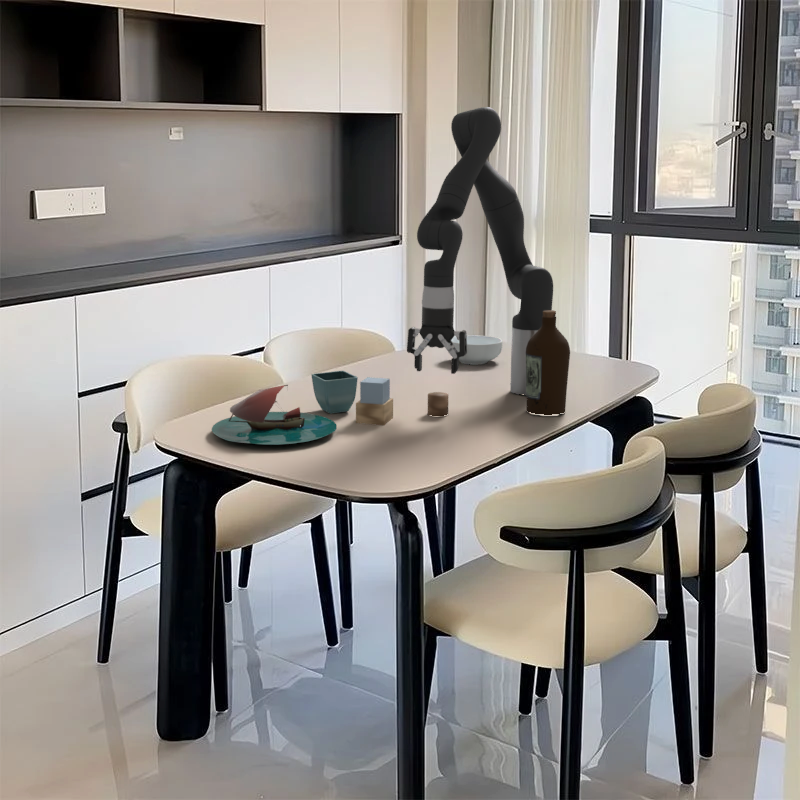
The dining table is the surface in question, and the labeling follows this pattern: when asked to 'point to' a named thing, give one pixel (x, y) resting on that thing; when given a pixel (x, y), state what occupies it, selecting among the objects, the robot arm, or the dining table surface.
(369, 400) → the mid block
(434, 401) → the brown rounded cylinder
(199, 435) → the dining table surface
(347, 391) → the flower pot
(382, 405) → the base block
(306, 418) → the sailing ship model
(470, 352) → the cereal bowl
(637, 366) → the dining table surface
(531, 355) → the olive oil
